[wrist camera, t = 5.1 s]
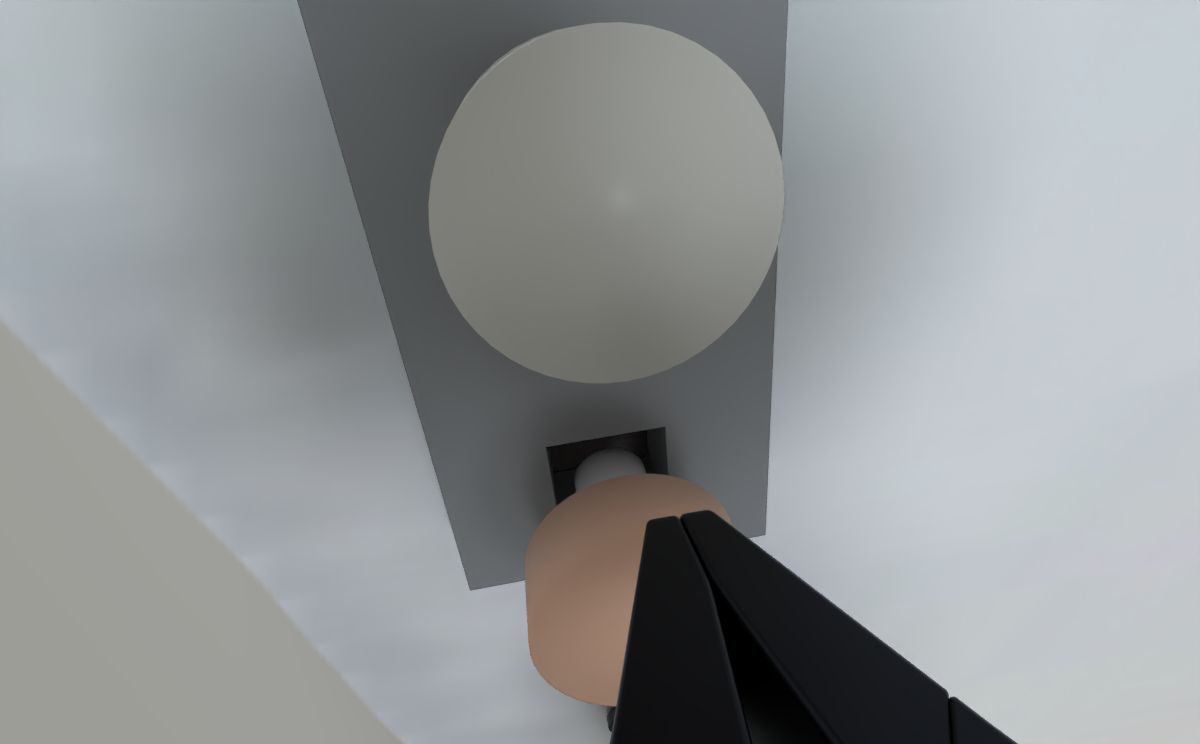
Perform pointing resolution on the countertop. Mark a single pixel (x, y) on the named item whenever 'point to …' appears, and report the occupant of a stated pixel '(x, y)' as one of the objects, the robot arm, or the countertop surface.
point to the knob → (596, 569)
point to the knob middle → (606, 202)
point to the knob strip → (449, 343)
